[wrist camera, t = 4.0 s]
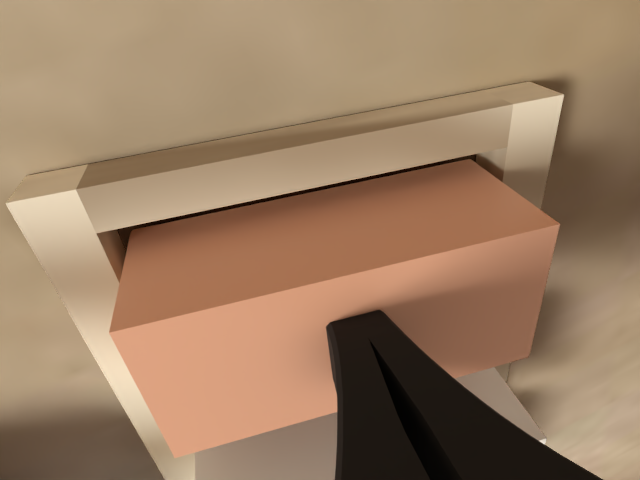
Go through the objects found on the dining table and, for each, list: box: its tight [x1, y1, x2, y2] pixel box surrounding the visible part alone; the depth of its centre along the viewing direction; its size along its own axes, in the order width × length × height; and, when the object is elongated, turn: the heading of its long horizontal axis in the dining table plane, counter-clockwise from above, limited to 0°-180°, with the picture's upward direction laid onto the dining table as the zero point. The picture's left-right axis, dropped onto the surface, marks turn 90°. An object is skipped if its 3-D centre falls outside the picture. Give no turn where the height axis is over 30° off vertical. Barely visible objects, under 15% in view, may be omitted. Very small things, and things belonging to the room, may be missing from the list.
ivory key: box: [195, 367, 547, 480], centre depth 15 cm, size 4×10×4 cm, turn 96°
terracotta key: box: [109, 159, 560, 458], centre depth 12 cm, size 4×10×4 cm, turn 96°
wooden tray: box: [6, 82, 564, 480], centre depth 17 cm, size 21×14×2 cm, turn 6°
